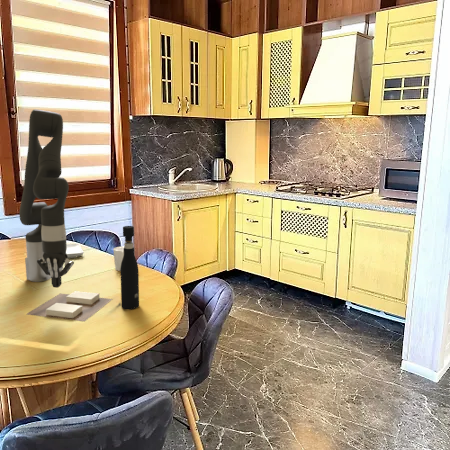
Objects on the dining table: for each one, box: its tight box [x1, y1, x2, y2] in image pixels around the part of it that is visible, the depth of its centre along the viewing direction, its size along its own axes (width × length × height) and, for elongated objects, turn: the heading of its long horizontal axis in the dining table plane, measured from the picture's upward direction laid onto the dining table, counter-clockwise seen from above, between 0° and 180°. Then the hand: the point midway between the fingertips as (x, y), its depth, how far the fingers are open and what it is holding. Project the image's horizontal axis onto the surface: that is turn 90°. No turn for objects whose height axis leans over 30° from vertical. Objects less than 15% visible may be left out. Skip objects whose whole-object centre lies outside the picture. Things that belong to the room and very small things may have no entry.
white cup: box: [113, 245, 125, 272], centre depth 194 cm, size 8×8×10 cm
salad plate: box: [66, 243, 84, 259], centre depth 215 cm, size 21×21×3 cm
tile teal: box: [66, 290, 101, 304], centre depth 154 cm, size 2×6×10 cm
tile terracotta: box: [46, 303, 82, 318], centre depth 142 cm, size 2×6×10 cm
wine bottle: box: [119, 225, 140, 311], centre depth 149 cm, size 6×6×30 cm
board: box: [26, 293, 113, 322], centre depth 148 cm, size 22×20×1 cm
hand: (56, 286), depth 141 cm, fingers closed
